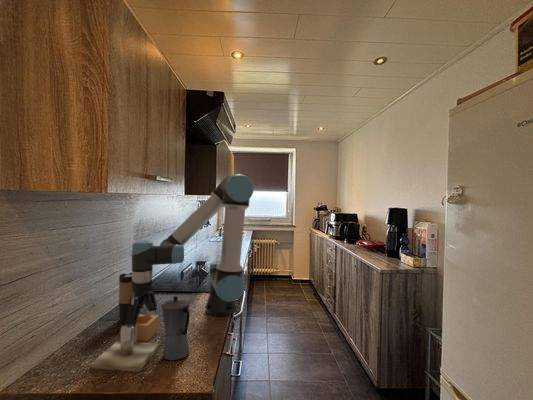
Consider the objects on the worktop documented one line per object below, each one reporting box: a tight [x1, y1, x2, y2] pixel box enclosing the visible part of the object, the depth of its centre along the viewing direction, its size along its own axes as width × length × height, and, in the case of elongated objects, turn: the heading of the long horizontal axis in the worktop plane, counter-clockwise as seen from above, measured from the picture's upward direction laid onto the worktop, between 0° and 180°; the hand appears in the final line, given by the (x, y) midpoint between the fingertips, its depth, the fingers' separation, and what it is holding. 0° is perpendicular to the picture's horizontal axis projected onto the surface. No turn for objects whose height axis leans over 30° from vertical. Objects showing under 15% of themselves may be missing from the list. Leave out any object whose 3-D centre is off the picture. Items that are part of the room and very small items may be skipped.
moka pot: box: [161, 296, 190, 361], centre depth 98 cm, size 10×15×20 cm, turn 51°
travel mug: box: [118, 272, 135, 324], centre depth 124 cm, size 8×8×20 cm
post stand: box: [90, 324, 161, 373], centre depth 96 cm, size 14×16×10 cm
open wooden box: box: [136, 313, 160, 342], centre depth 111 cm, size 9×9×6 cm
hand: (142, 334), depth 111 cm, fingers open, 12 cm apart
